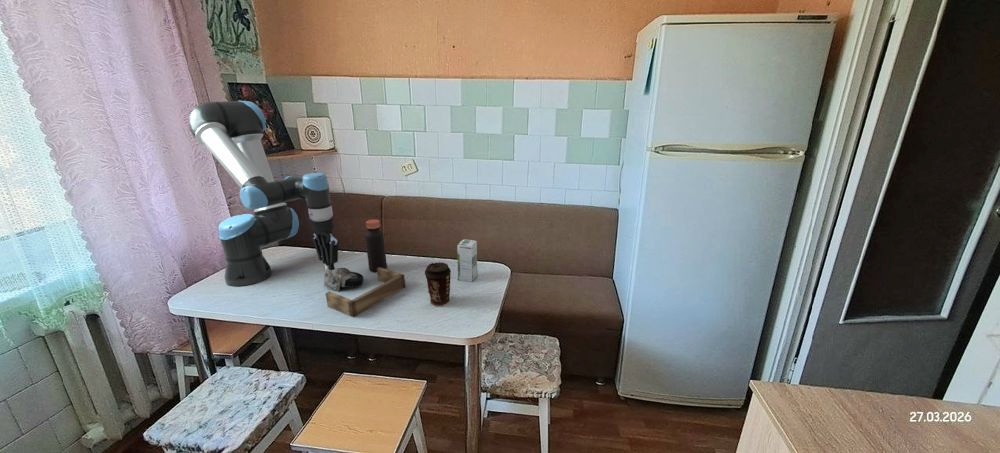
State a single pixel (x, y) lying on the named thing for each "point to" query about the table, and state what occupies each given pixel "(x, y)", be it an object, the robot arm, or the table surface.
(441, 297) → the coffee cup
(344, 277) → the caster wheel
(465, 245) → the syrup box
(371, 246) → the bottle
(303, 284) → the table surface
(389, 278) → the bay
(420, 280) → the table surface
